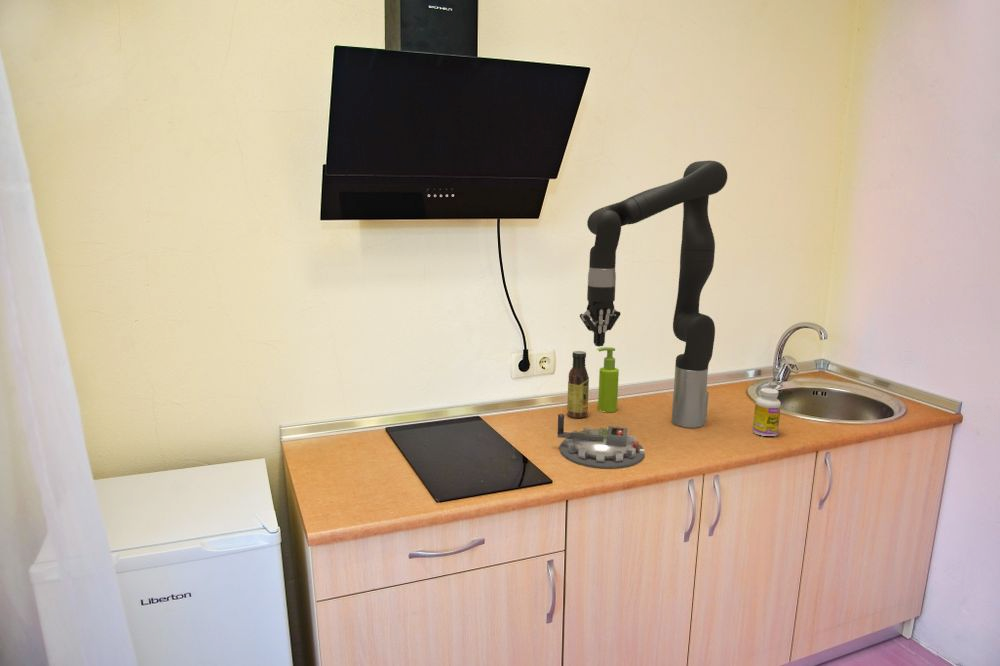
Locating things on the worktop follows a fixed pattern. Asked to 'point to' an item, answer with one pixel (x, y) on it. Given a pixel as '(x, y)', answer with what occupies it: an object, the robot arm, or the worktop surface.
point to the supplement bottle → (767, 413)
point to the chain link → (616, 436)
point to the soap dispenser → (608, 382)
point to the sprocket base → (607, 463)
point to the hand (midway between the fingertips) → (599, 345)
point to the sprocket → (596, 443)
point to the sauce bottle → (578, 387)
